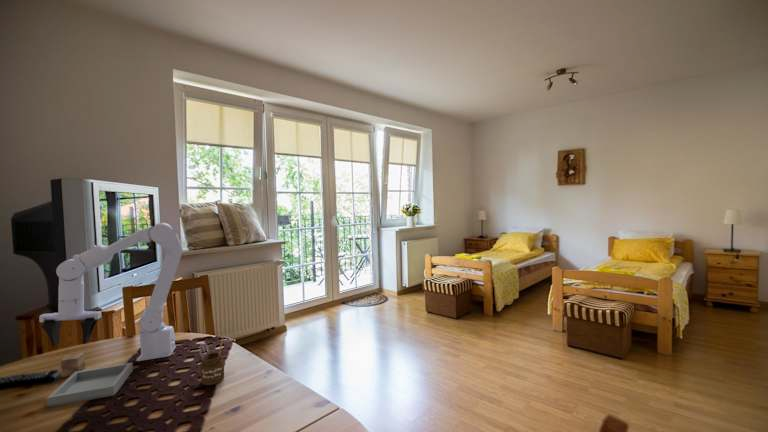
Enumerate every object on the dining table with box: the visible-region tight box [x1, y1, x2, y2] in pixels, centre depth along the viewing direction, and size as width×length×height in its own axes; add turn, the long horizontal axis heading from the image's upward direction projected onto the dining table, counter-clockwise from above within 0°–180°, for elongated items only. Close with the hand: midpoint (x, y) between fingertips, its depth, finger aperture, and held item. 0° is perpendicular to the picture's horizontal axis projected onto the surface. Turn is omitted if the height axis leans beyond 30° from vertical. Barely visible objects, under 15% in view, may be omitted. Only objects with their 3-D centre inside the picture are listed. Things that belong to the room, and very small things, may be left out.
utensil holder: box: [199, 335, 225, 386], centre depth 96 cm, size 6×6×12 cm
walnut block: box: [60, 352, 86, 378], centre depth 104 cm, size 4×4×5 cm
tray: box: [46, 362, 134, 408], centre depth 95 cm, size 14×14×2 cm
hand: (71, 343), depth 103 cm, fingers open, 7 cm apart
